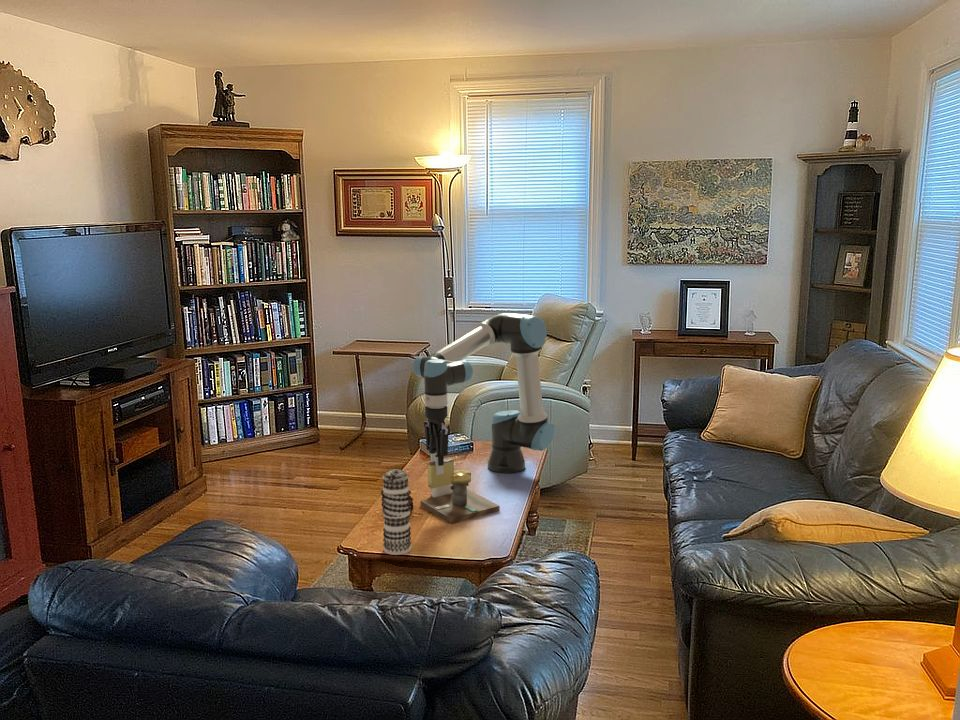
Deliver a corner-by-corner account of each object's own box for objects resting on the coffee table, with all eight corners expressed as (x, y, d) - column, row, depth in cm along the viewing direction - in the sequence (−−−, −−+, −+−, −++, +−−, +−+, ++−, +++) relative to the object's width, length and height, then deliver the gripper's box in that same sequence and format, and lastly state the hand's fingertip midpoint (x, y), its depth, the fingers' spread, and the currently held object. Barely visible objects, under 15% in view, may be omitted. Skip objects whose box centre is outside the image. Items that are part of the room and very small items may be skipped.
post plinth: (467, 494, 291) (467, 468, 289) (499, 511, 275) (499, 483, 273) (420, 506, 280) (420, 479, 278) (450, 524, 264) (450, 495, 262)
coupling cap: (462, 475, 281) (462, 452, 279) (475, 481, 275) (475, 458, 273) (423, 484, 272) (423, 460, 271) (435, 490, 266) (435, 467, 264)
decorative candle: (387, 557, 239) (385, 478, 234) (378, 545, 247) (376, 469, 243) (416, 552, 243) (414, 474, 238) (406, 540, 251) (404, 465, 246)
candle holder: (453, 500, 285) (452, 468, 283) (426, 499, 287) (425, 467, 284) (458, 491, 294) (457, 460, 292) (432, 490, 296) (432, 459, 294)
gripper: (414, 402, 269) (416, 468, 274) (438, 412, 257) (439, 481, 261) (433, 399, 274) (434, 464, 278) (458, 408, 261) (458, 476, 266)
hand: (437, 472), depth 270 cm, fingers closed on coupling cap, 2 cm apart
